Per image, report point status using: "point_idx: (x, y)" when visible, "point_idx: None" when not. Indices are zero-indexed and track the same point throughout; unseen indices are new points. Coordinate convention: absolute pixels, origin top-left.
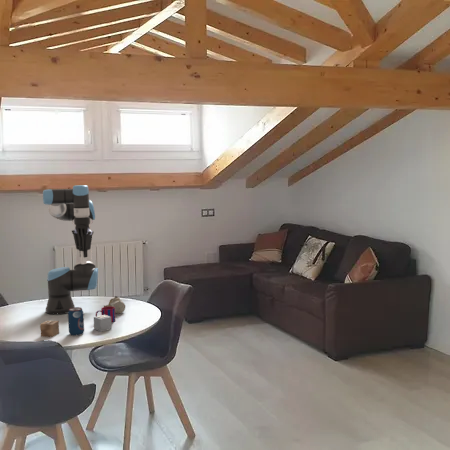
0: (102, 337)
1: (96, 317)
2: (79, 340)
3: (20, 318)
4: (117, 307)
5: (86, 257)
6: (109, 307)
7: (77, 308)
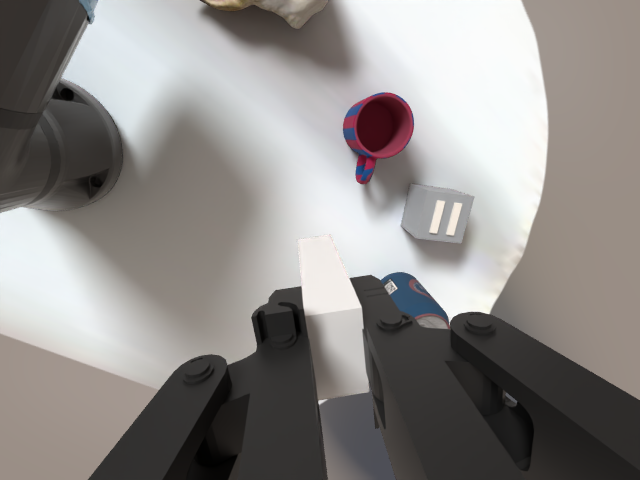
0: (488, 264)
1: (430, 235)
2: (449, 318)
3: (58, 304)
4: (320, 10)
5: (342, 265)
6: (367, 103)
7: (423, 324)
